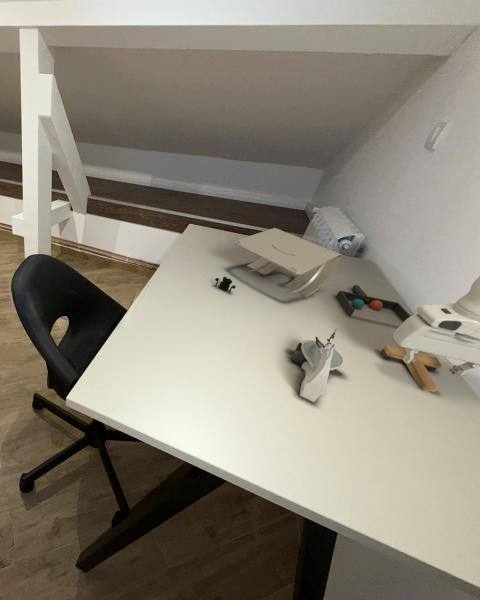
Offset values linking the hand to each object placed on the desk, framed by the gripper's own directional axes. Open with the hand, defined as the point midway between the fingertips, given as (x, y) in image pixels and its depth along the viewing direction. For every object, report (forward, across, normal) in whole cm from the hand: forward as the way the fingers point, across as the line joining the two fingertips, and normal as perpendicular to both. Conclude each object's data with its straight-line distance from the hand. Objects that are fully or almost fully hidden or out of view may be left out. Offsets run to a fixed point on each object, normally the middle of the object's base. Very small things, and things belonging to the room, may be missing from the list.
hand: (430, 367), depth 74 cm
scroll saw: (+4, +27, +11) cm, 29 cm away
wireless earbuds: (+4, +45, -23) cm, 51 cm away
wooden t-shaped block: (+5, +1, -2) cm, 5 cm away
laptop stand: (+4, +28, -38) cm, 48 cm away
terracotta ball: (+2, -3, -34) cm, 34 cm away
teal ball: (+2, +3, -32) cm, 32 cm away
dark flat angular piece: (+4, -1, -35) cm, 36 cm away
